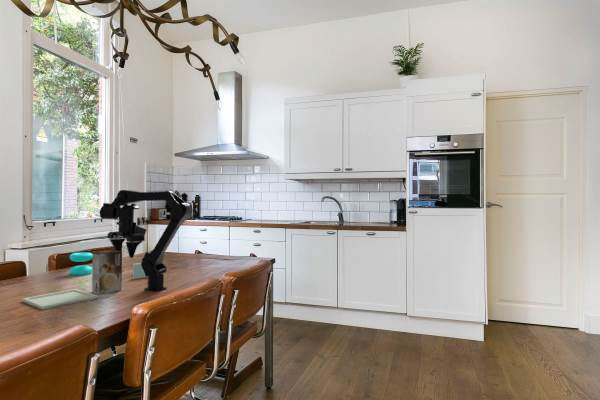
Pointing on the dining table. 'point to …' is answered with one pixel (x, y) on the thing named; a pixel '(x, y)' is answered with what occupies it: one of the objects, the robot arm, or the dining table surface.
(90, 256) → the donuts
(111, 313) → the dining table surface
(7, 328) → the dining table surface
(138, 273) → the right angle wall
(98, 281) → the coffee box
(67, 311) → the dining table surface
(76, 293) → the sage tray
